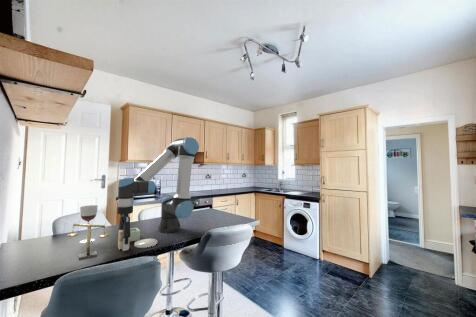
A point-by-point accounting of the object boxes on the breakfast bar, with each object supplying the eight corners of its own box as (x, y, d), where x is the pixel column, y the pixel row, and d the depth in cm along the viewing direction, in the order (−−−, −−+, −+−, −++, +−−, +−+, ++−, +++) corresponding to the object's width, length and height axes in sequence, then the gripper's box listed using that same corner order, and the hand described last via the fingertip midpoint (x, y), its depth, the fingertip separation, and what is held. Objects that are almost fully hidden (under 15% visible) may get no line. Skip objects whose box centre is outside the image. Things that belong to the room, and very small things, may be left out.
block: (127, 245, 118) (128, 228, 119) (129, 247, 114) (130, 230, 115) (117, 247, 115) (118, 230, 116) (119, 249, 111) (120, 232, 112)
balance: (107, 250, 110) (109, 218, 111) (109, 253, 106) (110, 220, 107) (65, 258, 99) (67, 223, 100) (65, 262, 95) (67, 225, 96)
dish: (153, 239, 128) (153, 237, 128) (160, 245, 119) (160, 242, 119) (132, 243, 121) (132, 241, 121) (137, 249, 112) (137, 247, 112)
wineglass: (74, 242, 122) (76, 207, 123) (89, 237, 130) (91, 204, 131) (85, 243, 119) (87, 208, 120) (99, 239, 127) (101, 205, 129)
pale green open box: (136, 236, 134) (136, 227, 134) (139, 239, 127) (140, 230, 127) (121, 238, 129) (121, 229, 129) (124, 242, 122) (124, 233, 122)
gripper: (114, 203, 123) (112, 242, 122) (121, 209, 104) (119, 255, 103) (128, 202, 127) (126, 239, 126) (137, 208, 109) (136, 252, 108)
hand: (123, 247), depth 115 cm, fingers open, 11 cm apart
